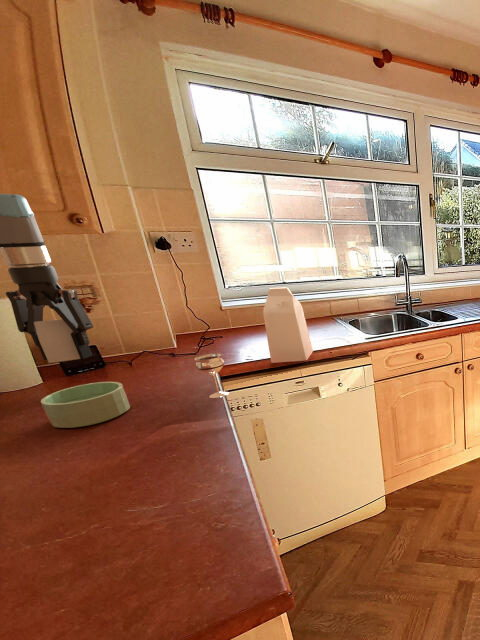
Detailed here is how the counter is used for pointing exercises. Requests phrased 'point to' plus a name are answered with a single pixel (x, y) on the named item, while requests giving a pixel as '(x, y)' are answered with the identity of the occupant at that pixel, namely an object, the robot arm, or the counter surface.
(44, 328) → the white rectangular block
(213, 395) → the wineglass
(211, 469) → the counter surface
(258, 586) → the counter surface
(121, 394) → the bowl
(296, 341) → the milk
